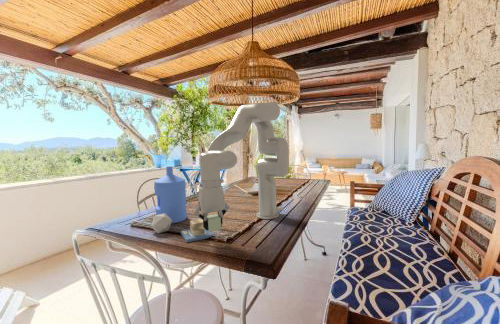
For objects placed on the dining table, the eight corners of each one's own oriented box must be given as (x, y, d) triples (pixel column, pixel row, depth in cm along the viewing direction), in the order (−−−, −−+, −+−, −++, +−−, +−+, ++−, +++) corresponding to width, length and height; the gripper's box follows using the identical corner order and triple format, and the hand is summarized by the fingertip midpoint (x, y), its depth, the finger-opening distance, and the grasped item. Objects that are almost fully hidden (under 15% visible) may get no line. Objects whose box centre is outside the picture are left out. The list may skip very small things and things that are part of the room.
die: (168, 227, 119) (154, 213, 117) (178, 221, 115) (165, 206, 113) (157, 239, 112) (143, 224, 110) (168, 233, 108) (154, 218, 106)
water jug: (191, 215, 136) (189, 165, 134) (180, 225, 121) (178, 168, 118) (164, 214, 138) (161, 165, 135) (150, 224, 122) (147, 168, 120)
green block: (216, 225, 103) (216, 213, 102) (221, 229, 98) (220, 217, 98) (205, 227, 100) (204, 216, 100) (209, 232, 96) (208, 219, 95)
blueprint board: (206, 228, 115) (206, 226, 115) (214, 236, 106) (214, 233, 106) (180, 233, 110) (180, 230, 110) (186, 242, 100) (186, 239, 100)
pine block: (201, 229, 111) (200, 218, 111) (204, 233, 107) (204, 222, 106) (190, 231, 109) (189, 220, 108) (193, 235, 104) (192, 224, 104)
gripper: (227, 179, 104) (228, 220, 106) (187, 184, 96) (189, 229, 99) (234, 182, 98) (236, 226, 100) (191, 188, 90) (194, 235, 92)
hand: (213, 227), depth 99 cm, fingers closed on green block, 4 cm apart
